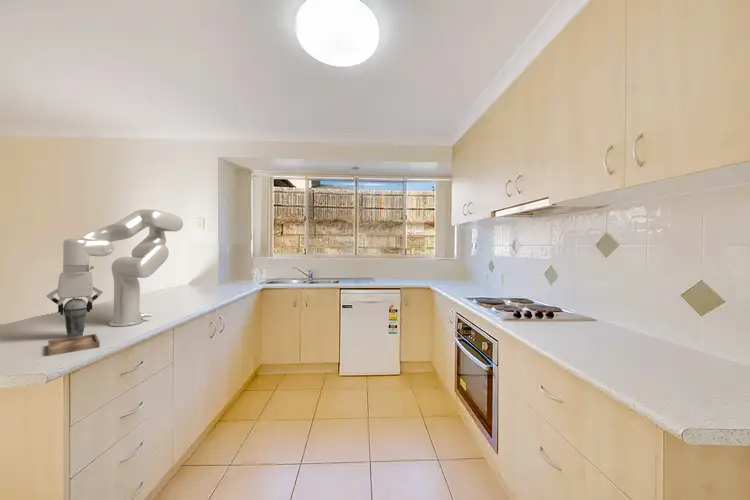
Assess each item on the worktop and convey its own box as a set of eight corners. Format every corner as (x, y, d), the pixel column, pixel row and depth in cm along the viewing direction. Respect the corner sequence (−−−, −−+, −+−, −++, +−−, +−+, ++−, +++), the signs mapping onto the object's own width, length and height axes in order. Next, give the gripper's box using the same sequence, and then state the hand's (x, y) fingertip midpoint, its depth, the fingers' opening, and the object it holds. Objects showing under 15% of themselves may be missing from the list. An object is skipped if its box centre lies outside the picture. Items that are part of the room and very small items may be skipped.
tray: (95, 338, 123) (95, 333, 123) (99, 347, 114) (99, 341, 114) (48, 345, 113) (48, 340, 113) (48, 355, 104) (48, 349, 104)
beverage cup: (91, 335, 127) (92, 287, 127) (70, 340, 120) (71, 289, 120) (79, 333, 129) (80, 285, 129) (57, 338, 122) (58, 288, 122)
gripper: (103, 267, 133) (102, 308, 133) (44, 269, 120) (44, 314, 121) (105, 269, 128) (105, 311, 128) (44, 271, 115) (43, 318, 115)
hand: (75, 312), depth 124 cm, fingers closed on beverage cup, 7 cm apart
